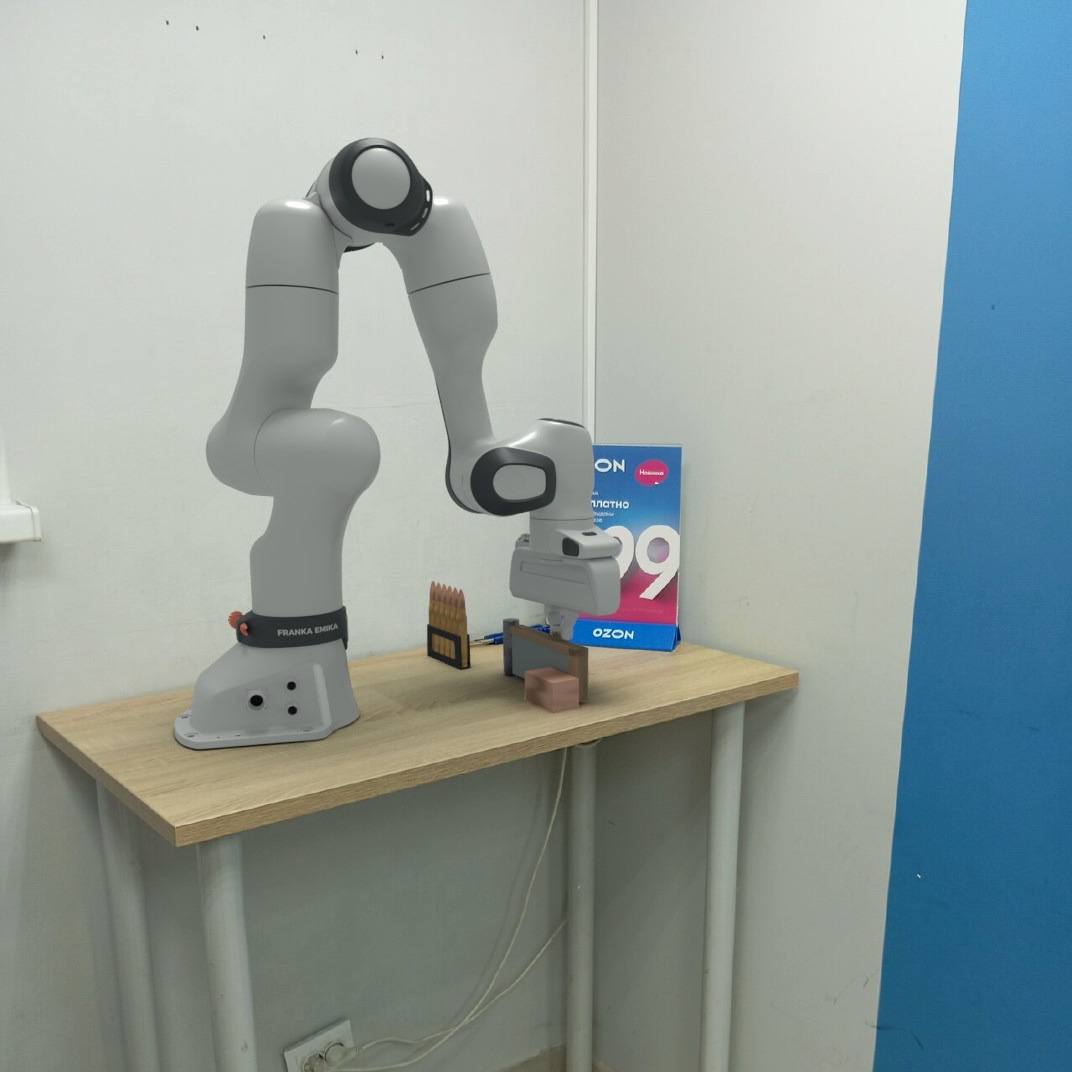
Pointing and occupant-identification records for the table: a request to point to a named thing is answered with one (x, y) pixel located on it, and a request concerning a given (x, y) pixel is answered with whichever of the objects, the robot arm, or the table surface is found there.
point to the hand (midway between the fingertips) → (561, 638)
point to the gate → (549, 655)
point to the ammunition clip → (448, 627)
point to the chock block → (552, 689)
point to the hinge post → (508, 645)
